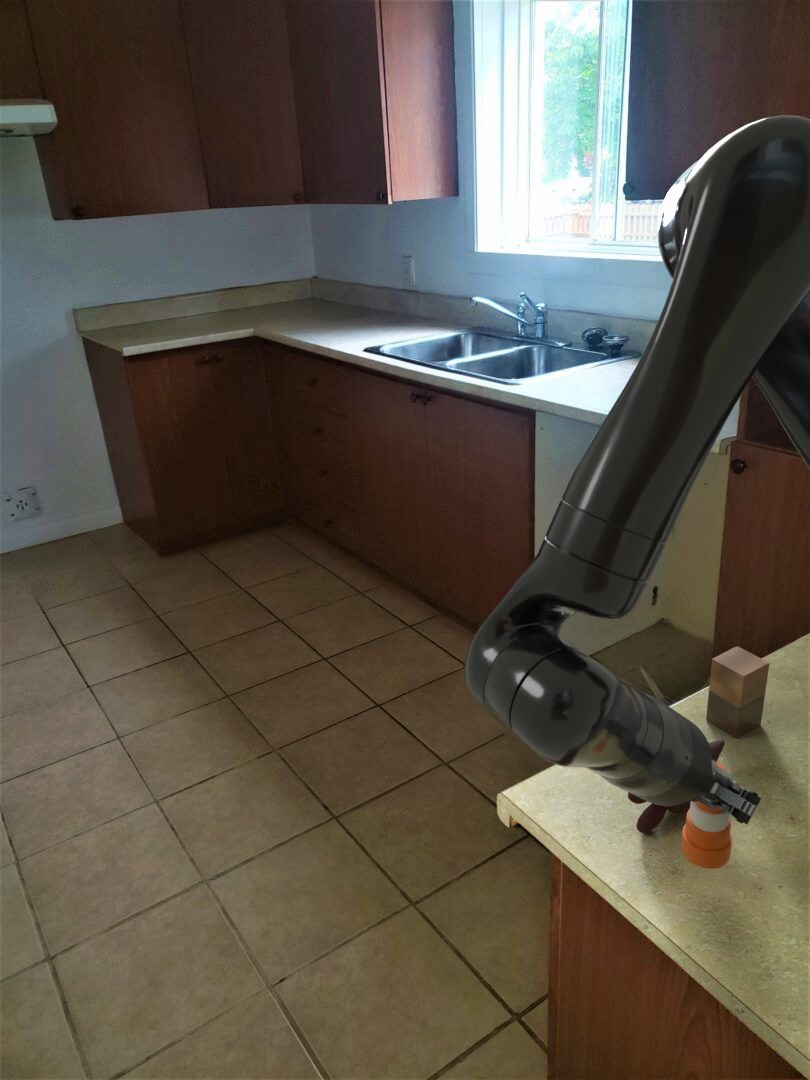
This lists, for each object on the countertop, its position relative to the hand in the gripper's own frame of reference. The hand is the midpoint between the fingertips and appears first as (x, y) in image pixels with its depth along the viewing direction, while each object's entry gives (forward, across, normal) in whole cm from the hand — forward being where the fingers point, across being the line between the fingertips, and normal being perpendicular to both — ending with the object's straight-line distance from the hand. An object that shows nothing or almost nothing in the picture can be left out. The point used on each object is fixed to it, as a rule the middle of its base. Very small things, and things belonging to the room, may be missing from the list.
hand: (723, 792), depth 76 cm
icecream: (+10, +8, +4) cm, 14 cm away
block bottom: (+22, +12, -8) cm, 26 cm away
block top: (+18, +12, -11) cm, 24 cm away
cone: (+3, 0, +6) cm, 6 cm away
